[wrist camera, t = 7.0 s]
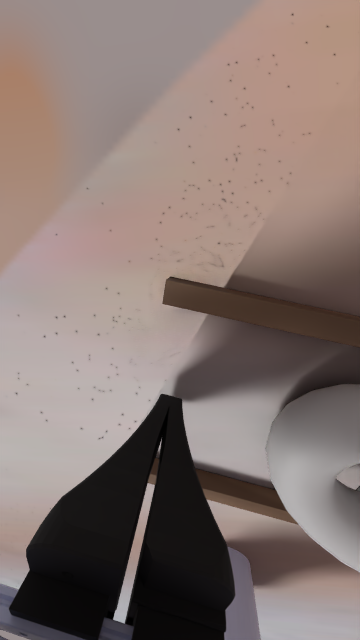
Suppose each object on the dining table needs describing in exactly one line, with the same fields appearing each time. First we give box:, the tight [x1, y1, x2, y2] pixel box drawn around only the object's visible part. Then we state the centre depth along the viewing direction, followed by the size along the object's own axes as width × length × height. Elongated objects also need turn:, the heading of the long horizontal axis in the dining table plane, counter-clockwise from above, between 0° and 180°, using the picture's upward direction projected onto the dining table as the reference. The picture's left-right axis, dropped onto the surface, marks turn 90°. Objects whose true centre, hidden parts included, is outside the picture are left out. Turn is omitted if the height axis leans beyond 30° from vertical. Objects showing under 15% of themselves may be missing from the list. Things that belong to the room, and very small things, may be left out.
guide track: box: [148, 277, 360, 525], centre depth 11 cm, size 16×18×2 cm
